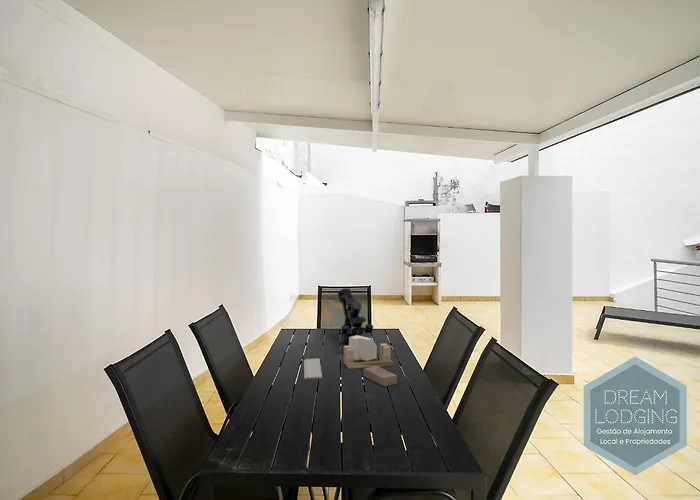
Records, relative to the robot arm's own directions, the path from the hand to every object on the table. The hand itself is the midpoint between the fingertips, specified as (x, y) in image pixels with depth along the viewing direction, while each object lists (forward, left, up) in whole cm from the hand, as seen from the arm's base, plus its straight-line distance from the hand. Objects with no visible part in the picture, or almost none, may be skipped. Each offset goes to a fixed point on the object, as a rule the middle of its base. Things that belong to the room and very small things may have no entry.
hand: (359, 341), depth 247 cm
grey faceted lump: (+5, -6, -8) cm, 11 cm away
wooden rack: (+13, -13, -7) cm, 20 cm away
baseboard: (-8, -36, -8) cm, 38 cm away
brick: (+30, -31, -8) cm, 44 cm away
